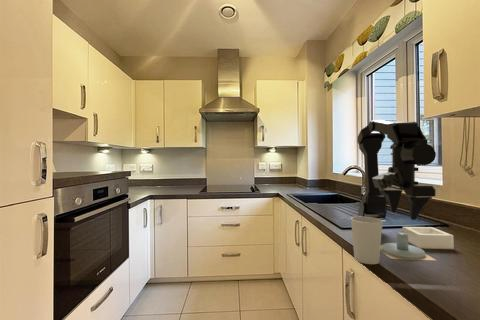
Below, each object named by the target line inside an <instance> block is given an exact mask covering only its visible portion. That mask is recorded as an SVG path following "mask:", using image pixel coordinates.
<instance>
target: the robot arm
mask: <svg viewBox="0 0 480 320" xmlns="http://www.w3.org/2000/svg"><path fill="white" fill-rule="evenodd" d="M385 138H387V139H389V140H390V141H391V142H392V144H391V145H390V147H389V149H390V150H392V152H391V156H392V157H391V159H392V161H391V164H392V165H391V166H389V168H388V169H387V172H384V173H383V172H382V173H381V174H379V157H378V154H379V151H380V150H381V149H382V146H383V142H384V140H385ZM356 140H357V144H358V148H359V150H360V152H361V153H362V155H363V161H364V162H363V163H364V182H365V192H364V193H363V196H362V197H361V202H360V205H359V206H358V209H357V217H358V216H362V217H373V218H377V219H385V220H386V217H387V212H388V211H387V210H388V206H387V202H386V201H388V205H389V207H390V211H391V212H392V213H397V209H398V208H399V204H400V200H401V197H402V193H403V191H404V193H405V195H403V196H404V197H403V198H405V199H406V200H407V201H408V207H409V215H410V220H413V221H416V220H417V218H418V216H419V215H420V213H421V212H422V210H423V208H424V207H425V206H426V205H427V203H428V201H429V200H432V199H433V197H436V194H437V193H436V192H437V189H436V188H435V187H434V186H433V185H429V184H422V183H421V184H419V181H415V180H416V178H415V176H416V172H419V167H416V165H417V166H428V165H431V164H432V163H433V162H434V161H435V159H436V157H437V153H436V151H435V150H436V149H434V148H435V147H433V146H432V145H431V144H429V143H428V139H427V138H426V136H425V135H424V133H423V131H422V129H421V127H420V126H419V123H418V122H417V121H395V122H394V121H386V120H384V119H377V120H376V119H375V120H374V119H372V120H370V121H369V123H368V125H366V126H365V127H362V129H360V130H359V132H358V135H357V139H356ZM381 192H382V193H383V194H384V195H383V194H382V193H381ZM386 199H387V200H386Z"/></svg>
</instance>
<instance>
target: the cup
mask: <svg viewBox="0 0 480 320" xmlns="http://www.w3.org/2000/svg"><path fill="white" fill-rule="evenodd" d="M383 222H384V221H383V220H382V218H380V219H377V218H373V217H362V216H358V215H357V216H351V218H350V223H351V234H352V235H351V236H352V246H353V258H354V261H357V262H359V263H361V264H366V265H377V264H379V263H380V257H381V256H380V253H381V251H380V245H382V234H383V232H382V230H383Z"/></svg>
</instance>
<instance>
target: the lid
mask: <svg viewBox="0 0 480 320" xmlns="http://www.w3.org/2000/svg"><path fill="white" fill-rule="evenodd" d="M381 245H382V251H383V252H385V253H387V254H389V255H392V256H396V257H400V258H407V259H421V258H424V257H425V254H426V252H425V250H424V249H423V248H418V247H416V246H414V245H413V244H411V245H410V244H409V242H408V234H406V233H403V232H402V231H401V232H400V231H399V232H396V242H385V243H383V244H381ZM382 251H381V252H382ZM383 252H382V253H383Z"/></svg>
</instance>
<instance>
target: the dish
mask: <svg viewBox="0 0 480 320" xmlns="http://www.w3.org/2000/svg"><path fill="white" fill-rule="evenodd" d="M402 233H406V234H408V244H411V245H412V246H415V247H418V248H420V249H422V250H424V249H426V250H427V249H429V250H432V249H433V250H455V249H454V243H455V242H454V235H453V234H451V233H448V232H445V231H442V230H440V229H439V228H435V227H433V226H427V227H426V226H402Z"/></svg>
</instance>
